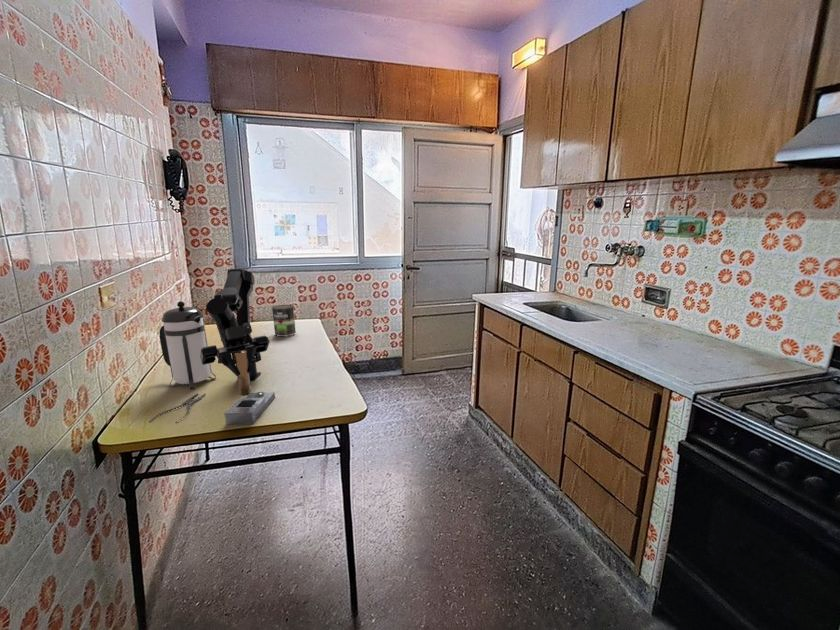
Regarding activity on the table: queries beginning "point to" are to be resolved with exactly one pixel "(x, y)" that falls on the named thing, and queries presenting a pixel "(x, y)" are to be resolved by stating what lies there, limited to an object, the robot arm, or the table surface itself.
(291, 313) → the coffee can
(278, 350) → the table surface
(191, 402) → the pliers
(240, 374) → the pin
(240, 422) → the gray remote-style box
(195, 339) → the coffee press
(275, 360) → the table surface
